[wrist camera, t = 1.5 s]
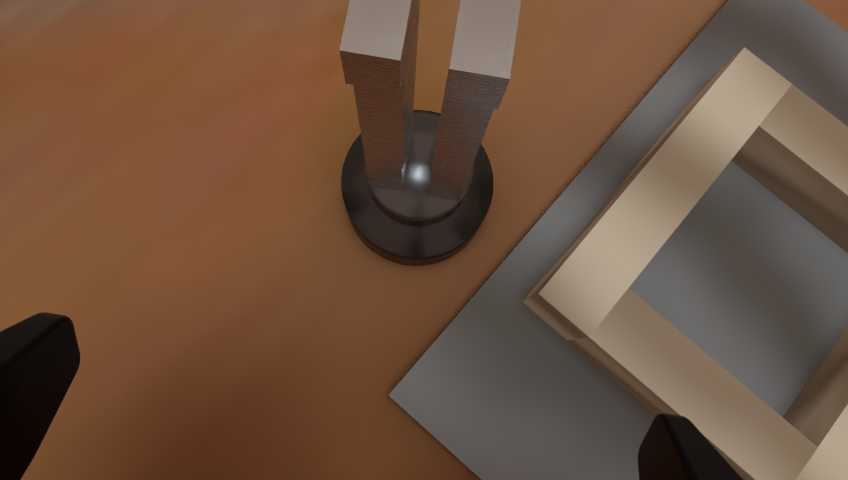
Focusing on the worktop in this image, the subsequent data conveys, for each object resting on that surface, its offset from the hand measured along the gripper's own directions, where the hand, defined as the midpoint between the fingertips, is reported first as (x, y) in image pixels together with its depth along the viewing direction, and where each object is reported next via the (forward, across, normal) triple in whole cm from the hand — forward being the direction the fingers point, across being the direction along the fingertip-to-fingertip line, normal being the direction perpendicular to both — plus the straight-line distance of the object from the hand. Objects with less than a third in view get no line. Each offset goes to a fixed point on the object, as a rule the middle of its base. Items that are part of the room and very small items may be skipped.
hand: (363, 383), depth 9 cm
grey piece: (+13, 0, +4) cm, 14 cm away
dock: (+12, -12, +5) cm, 18 cm away
